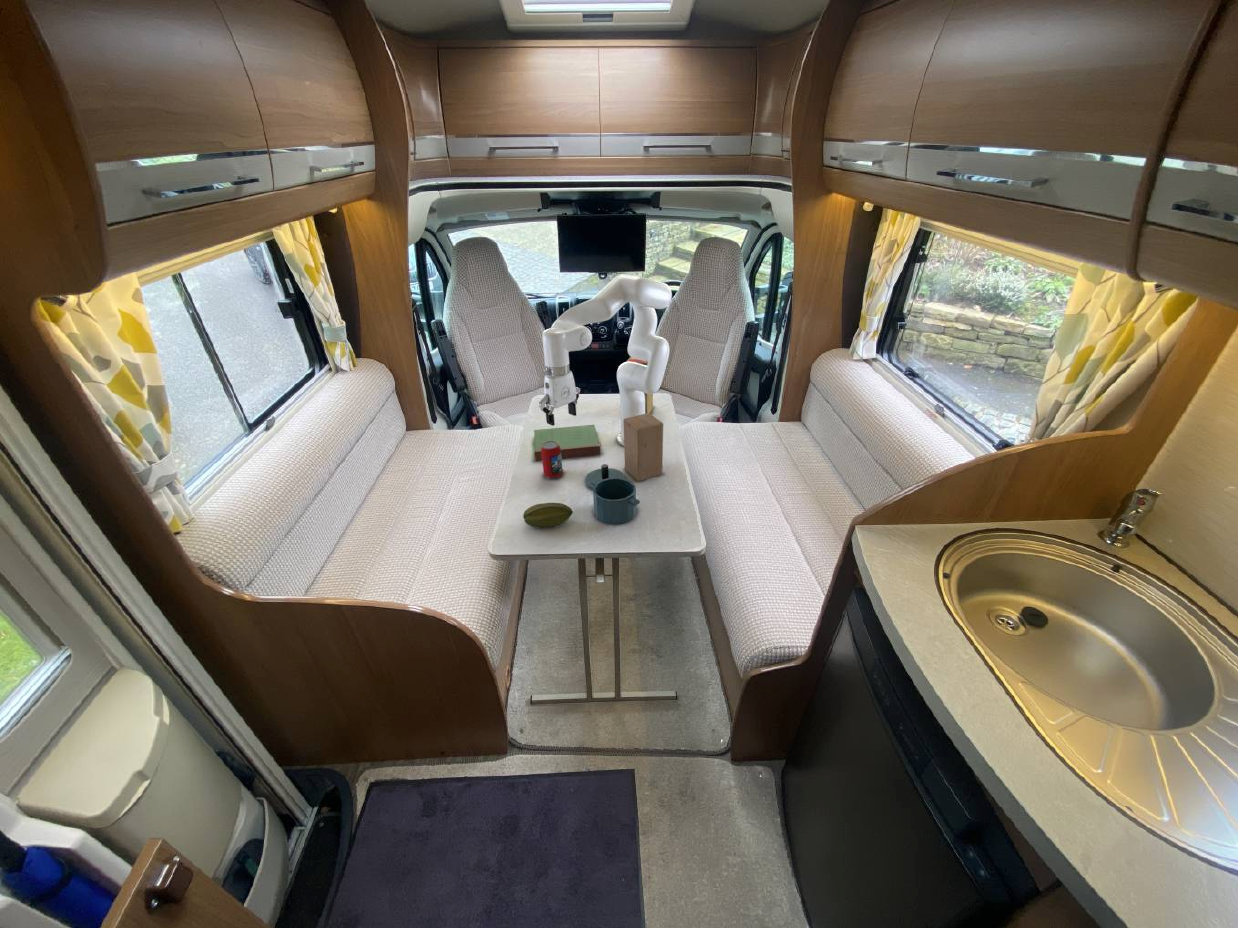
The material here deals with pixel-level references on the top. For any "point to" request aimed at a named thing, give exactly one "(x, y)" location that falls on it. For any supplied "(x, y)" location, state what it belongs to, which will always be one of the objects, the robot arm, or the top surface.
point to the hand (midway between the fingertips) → (561, 419)
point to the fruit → (547, 514)
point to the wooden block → (643, 446)
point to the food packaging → (647, 396)
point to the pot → (614, 500)
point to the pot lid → (603, 474)
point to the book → (569, 441)
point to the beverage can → (551, 459)
